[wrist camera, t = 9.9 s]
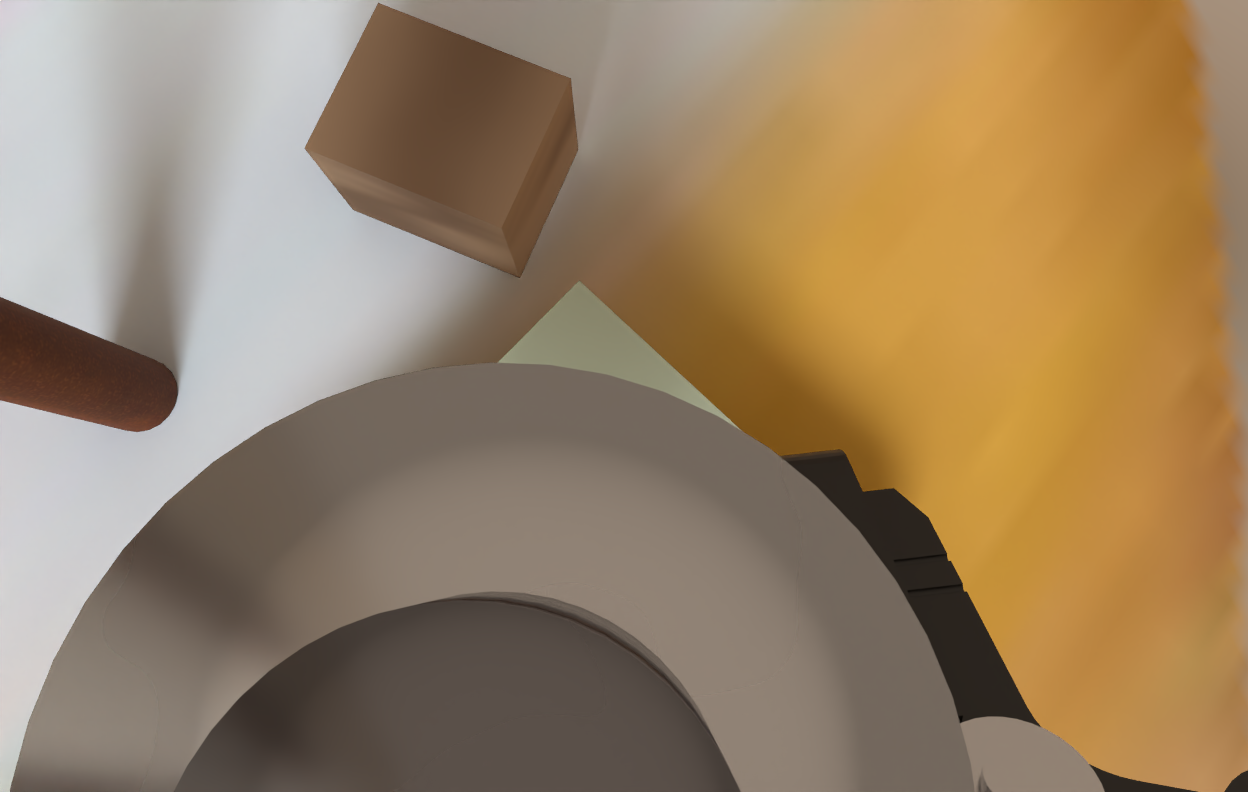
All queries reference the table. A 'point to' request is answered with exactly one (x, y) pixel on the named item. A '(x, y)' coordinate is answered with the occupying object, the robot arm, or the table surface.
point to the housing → (497, 612)
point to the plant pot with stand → (79, 373)
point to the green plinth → (601, 348)
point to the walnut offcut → (447, 139)
